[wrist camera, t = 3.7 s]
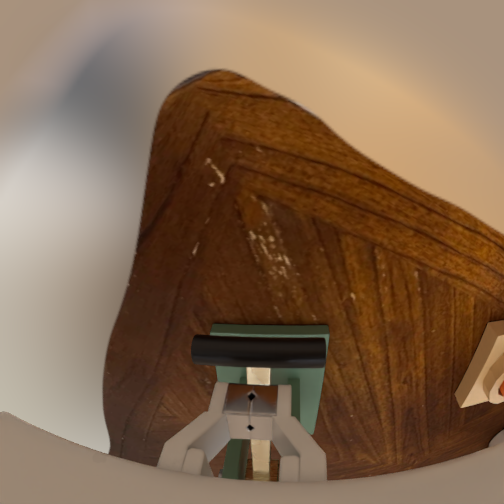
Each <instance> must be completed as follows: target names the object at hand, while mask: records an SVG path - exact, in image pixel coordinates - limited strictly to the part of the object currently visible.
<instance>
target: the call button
mask: <svg viewBox="0 0 504 504" xmlns="http://www.w3.org/2000/svg"><path fill="white" fill-rule="evenodd" d="M503 381H504V320H501V321H494V322H488V324H487V326H486V329H485V331H484V334H483V336H482V338H481V341H480V343H479V345H478V348H477V350H476V352H475V354H474V357H473V359H472V361H471V363H470V365H469V367H468V369H467V371H466V373H465V375H464V377H463V379H462V381H461V383H460V385H459V387H458V389H457V390H456V392H455V396H456V399H457V401H458V403H459V406H460V408H463V407H467V406H471V405H475V404H478V403H482V402H485V401H489V402H491V403H494V404H498V403H501V402H504V397H503V395H502V393H501V391H500V386H501V384H502V382H503Z"/></svg>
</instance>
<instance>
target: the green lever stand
mask: <svg viewBox="0 0 504 504" xmlns="http://www.w3.org/2000/svg"><path fill="white" fill-rule="evenodd" d="M210 335H217V336H240V337H324V338H325V340H326V357H327V350H328V343H329V335H330V334H329V328H328V325H304V326H285V325H234V324H213V325H212V328H211V331H210ZM324 371H325V367H324V368H271V384H276V385H291V416H295V417H296V419H297V420H298V421H299V422H300V424H301V425H302V426H303V427H304V428H305V430H306V431H307V432H308V433H309V434H314V429H315V424H316V418H317V413H318V407H319V402H320V396H321V390H322V384H323V378H324ZM216 372H217V378H218V382H226V383H240V384H247V373H246V367H228V366H216ZM230 439H231V440H230V441H229V442H228V446H227V451H226V456H225V462H224V467H223V469H221V470H220V472H219V477H218V478H226V479H237V480H244V478H245V471H246V464H247V457H248V449H249V442H250V439H232V438H230Z"/></svg>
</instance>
